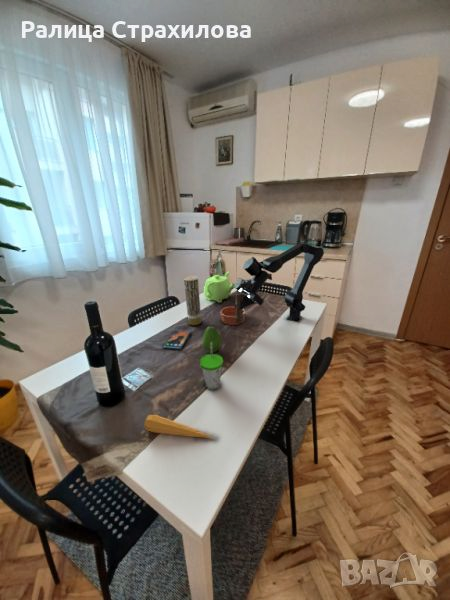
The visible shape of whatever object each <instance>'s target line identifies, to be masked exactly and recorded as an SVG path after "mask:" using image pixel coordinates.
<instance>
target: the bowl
mask: <svg viewBox="0 0 450 600" xmlns="http://www.w3.org/2000/svg"><path fill="white" fill-rule="evenodd" d="M235 316H236V307H235V305H233V306H231V305H230V306H225V307H223V308H222V309H220V321H221V322H222V323H224V324H225V325H229V326H238V325H241V324H242V323H236V322H235ZM243 316H244V322H245V321H246V309H245V308H243Z"/></svg>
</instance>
